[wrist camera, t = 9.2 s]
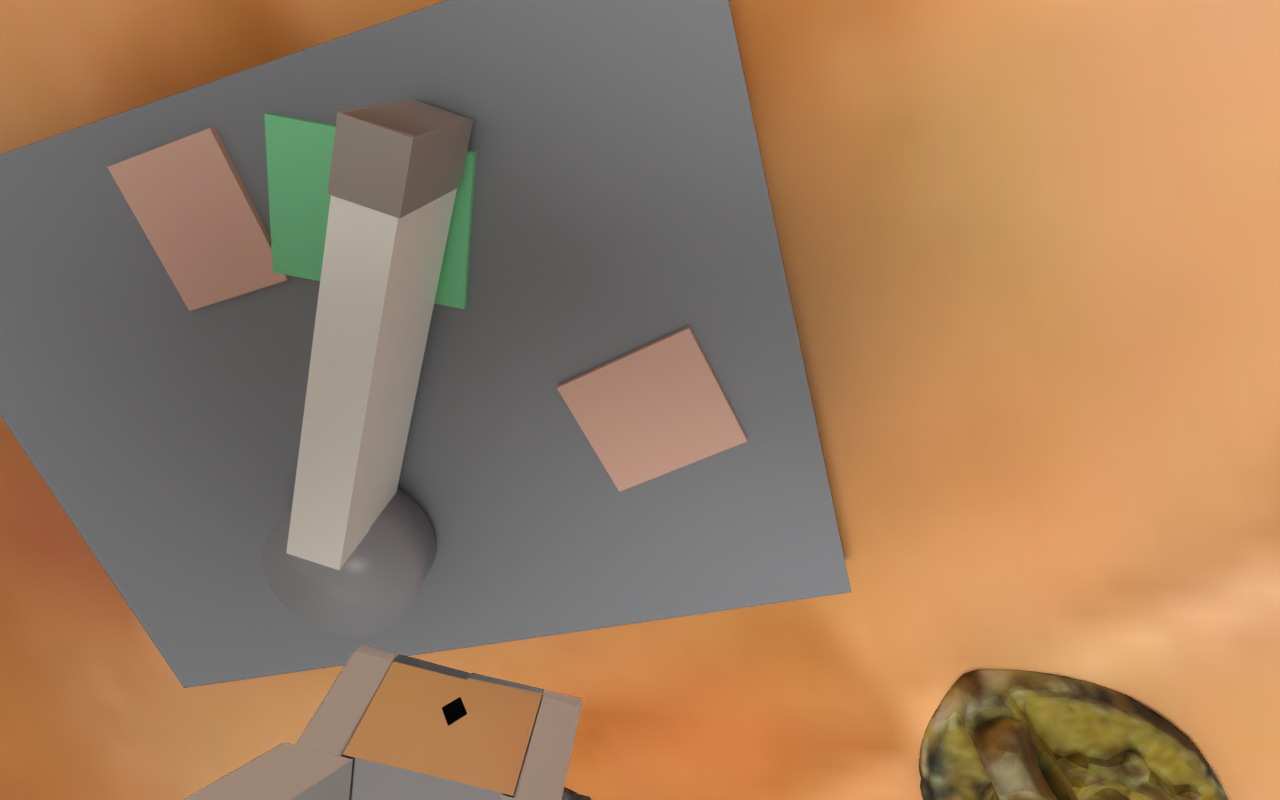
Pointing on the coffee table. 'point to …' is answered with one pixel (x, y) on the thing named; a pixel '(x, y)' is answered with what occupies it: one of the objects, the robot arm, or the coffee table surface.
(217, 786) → the robot arm
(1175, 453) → the coffee table surface
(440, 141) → the control lever
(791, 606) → the coffee table surface
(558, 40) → the dial board
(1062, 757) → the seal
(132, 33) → the coffee table surface
